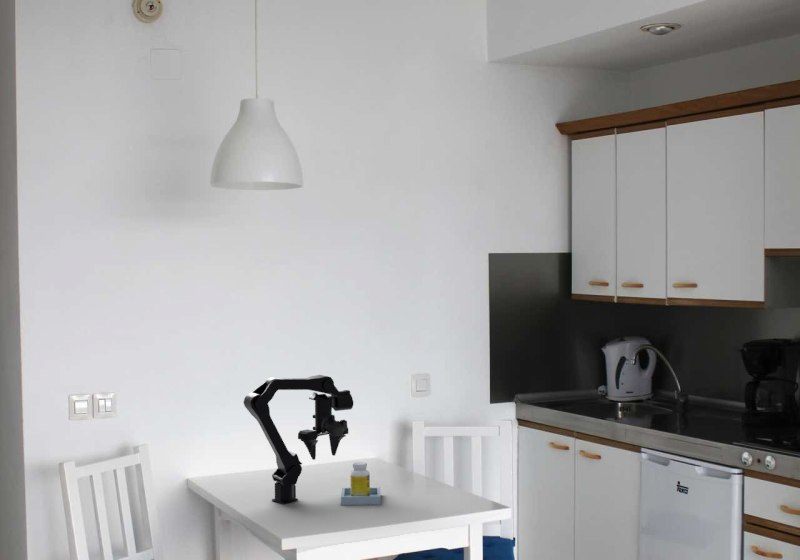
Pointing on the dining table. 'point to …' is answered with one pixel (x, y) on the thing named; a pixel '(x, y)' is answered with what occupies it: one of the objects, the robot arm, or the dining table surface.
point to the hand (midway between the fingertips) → (323, 457)
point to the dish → (360, 497)
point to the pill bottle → (360, 480)
